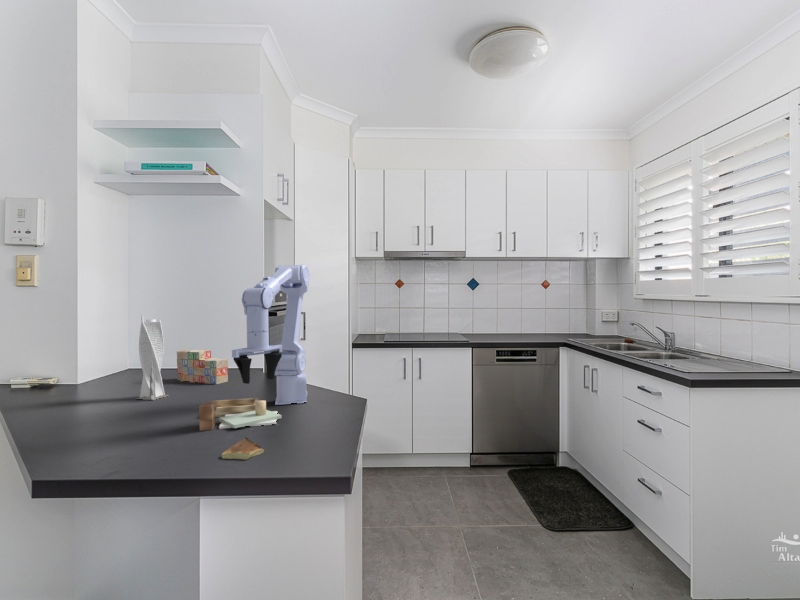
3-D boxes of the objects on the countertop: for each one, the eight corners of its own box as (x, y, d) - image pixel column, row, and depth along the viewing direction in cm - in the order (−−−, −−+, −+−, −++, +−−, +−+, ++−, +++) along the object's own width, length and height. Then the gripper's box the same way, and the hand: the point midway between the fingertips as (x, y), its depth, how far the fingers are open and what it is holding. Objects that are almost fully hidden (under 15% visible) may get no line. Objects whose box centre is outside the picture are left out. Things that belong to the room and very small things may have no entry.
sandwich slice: (245, 443, 104) (245, 436, 104) (276, 445, 103) (276, 437, 103) (219, 460, 94) (219, 452, 94) (254, 462, 92) (254, 453, 92)
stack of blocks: (228, 382, 180) (228, 351, 180) (216, 384, 174) (215, 353, 174) (189, 378, 188) (189, 349, 188) (176, 381, 183) (176, 350, 183)
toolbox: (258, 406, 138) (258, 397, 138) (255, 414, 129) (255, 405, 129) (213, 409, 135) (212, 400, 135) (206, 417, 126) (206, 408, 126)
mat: (277, 413, 130) (277, 411, 130) (276, 424, 118) (276, 422, 118) (225, 416, 126) (225, 414, 126) (219, 428, 115) (219, 426, 115)
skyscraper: (131, 399, 149) (130, 315, 149) (150, 394, 157) (149, 314, 157) (153, 400, 147) (151, 315, 147) (171, 395, 155) (169, 314, 155)
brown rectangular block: (216, 422, 120) (216, 400, 120) (212, 429, 114) (212, 406, 114) (204, 423, 120) (204, 400, 120) (199, 430, 113) (199, 406, 113)
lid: (264, 411, 129) (263, 396, 129) (281, 418, 122) (281, 402, 122) (218, 420, 120) (218, 404, 120) (234, 428, 113) (234, 411, 113)
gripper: (271, 329, 132) (272, 375, 132) (225, 332, 121) (226, 383, 121) (286, 330, 127) (287, 378, 128) (239, 333, 116) (240, 386, 116)
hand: (258, 380), depth 124 cm, fingers open, 7 cm apart
